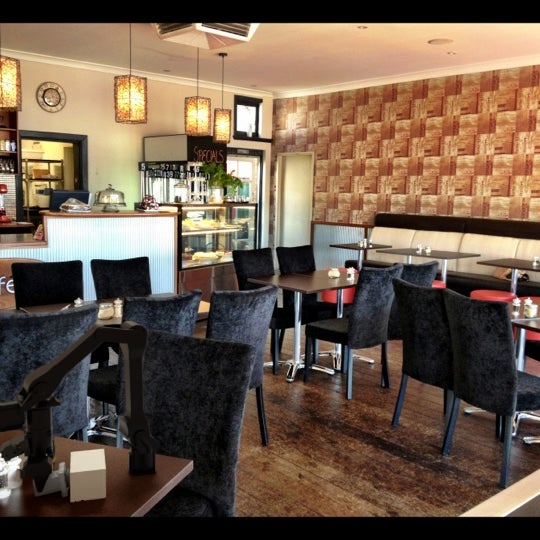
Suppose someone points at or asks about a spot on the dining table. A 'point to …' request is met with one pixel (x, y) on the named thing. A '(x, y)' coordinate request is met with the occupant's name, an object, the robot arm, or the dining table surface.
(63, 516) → the dining table surface
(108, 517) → the dining table surface
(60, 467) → the grey flanged bar
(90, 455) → the block
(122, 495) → the dining table surface
